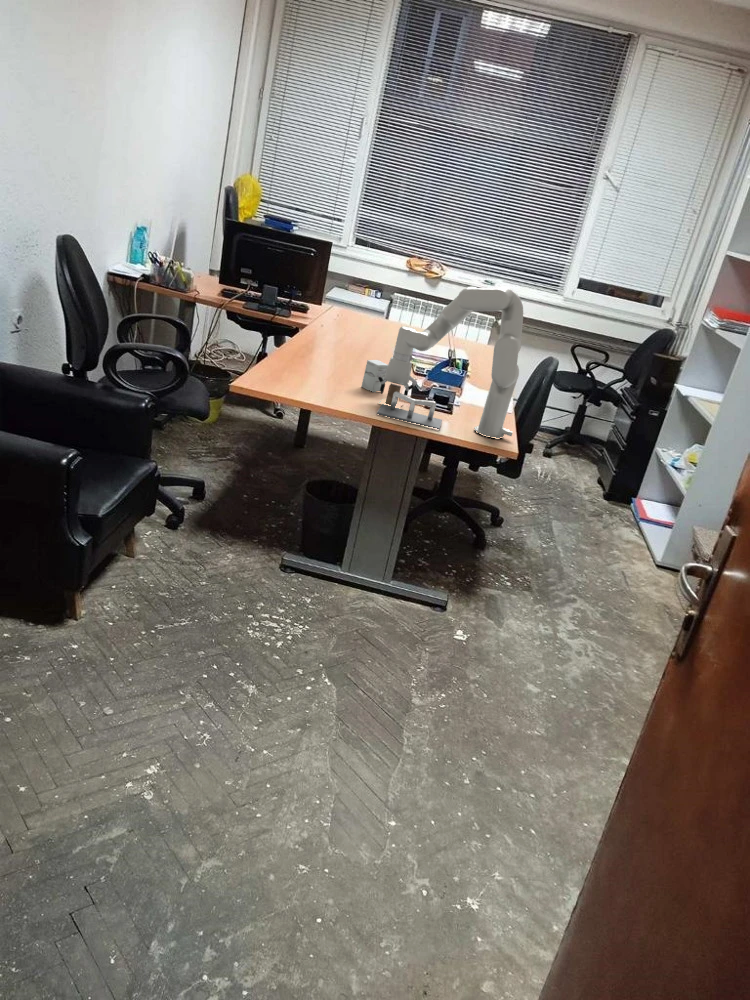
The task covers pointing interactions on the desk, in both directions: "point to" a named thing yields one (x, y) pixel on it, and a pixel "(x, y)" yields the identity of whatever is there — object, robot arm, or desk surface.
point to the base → (415, 418)
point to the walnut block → (392, 392)
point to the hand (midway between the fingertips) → (392, 395)
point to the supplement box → (373, 375)
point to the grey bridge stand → (413, 404)
